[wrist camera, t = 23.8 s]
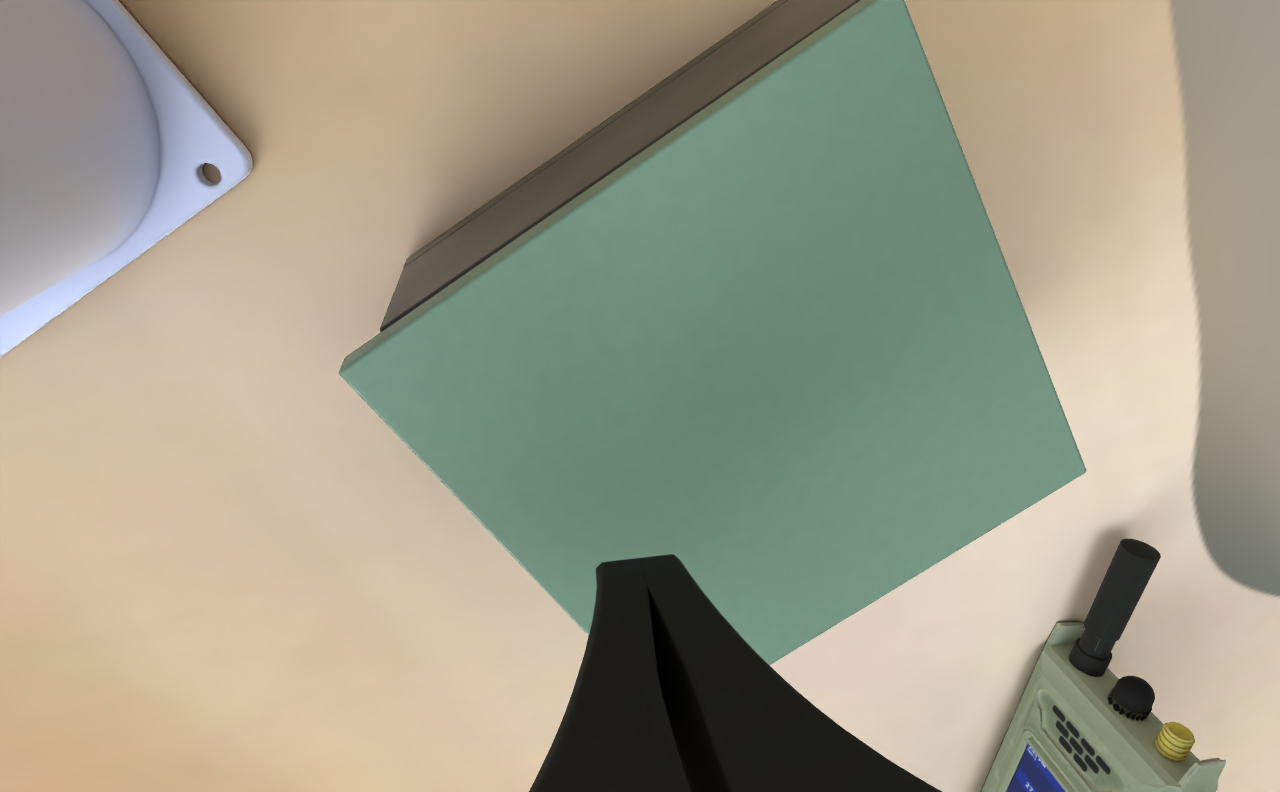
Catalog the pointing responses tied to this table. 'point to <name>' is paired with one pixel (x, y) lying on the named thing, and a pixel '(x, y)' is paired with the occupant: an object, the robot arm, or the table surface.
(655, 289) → the green square panel
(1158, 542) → the table surface
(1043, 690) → the handheld radio
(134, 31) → the robot arm
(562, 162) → the dark open box
